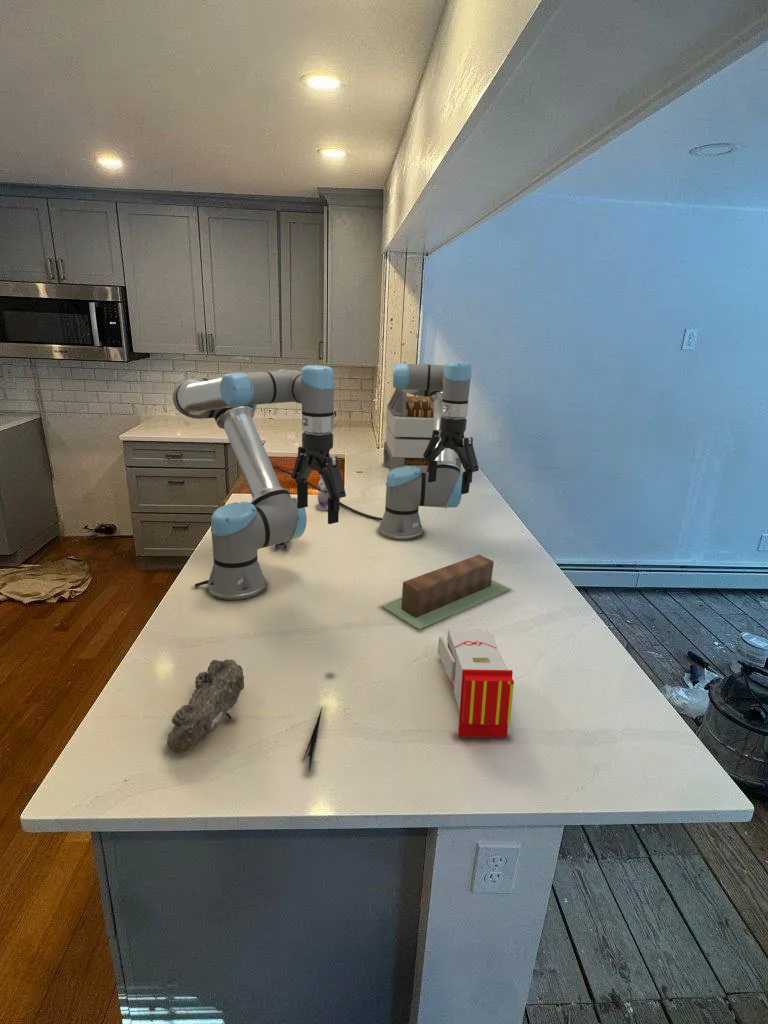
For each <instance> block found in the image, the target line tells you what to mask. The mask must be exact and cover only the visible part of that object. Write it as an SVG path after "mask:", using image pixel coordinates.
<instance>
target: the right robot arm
mask: <svg viewBox="0 0 768 1024" xmlns="http://www.w3.org/2000/svg"><path fill="white" fill-rule="evenodd" d="M392 370H393V372H392V387H393V388H394V389H395V390H396V389H401V390H403V391H404V392H406V393H407V394H410V395H412V396H415V397H417V396H418V397H430V403H431V404H432V405H434V409H433V433H432V438H431V440H430V442H429V444H428V446H427V448H426V450H425V452H424V454H423V456H424V458H427V460H428V466H427V468H426V472H422V469H421V468H420V467H419V466H407V465H405V466H404V467H399V468H395V469H393V470H391V471H390V470H389V471H388V473H387V475H386V482H385V486H386V488H385V489H386V490H385V504H384V505H385V507H384V508H385V509H384V513H383V515H382V517H378V516H375V515H374V516H373V515H370V514H366V513H365V512H362V511H359V510H356V509H354V508H352V507H350V506H348V505H346V504H344V503H343V502H340V507H343V508H344V509H347V510H349V511H351V512H353V513H355V514H357V515H360V516H362V517H365V518H369V519H372V520H377V521H381V522H379V526H378V533H379V534H380V535H381V536H382V537H385V538H387V539H389V540H395V541H410V540H415V539H418V538H420V537H421V536H422V535H423V525H422V524H421V518H420V515H419V507H427V508H429V507H431V508H444V509H448V508H449V509H450V508H452V509H453V508H454V509H455V508H457V507H459V506H460V504H461V501H462V498H463V497H462V496H463V495H464V494H468V493H469V494H470V486H471V483H472V482H473V474H474V473H475V472H479V470H480V468H479V467H480V466H479V464H478V460H477V455H476V453H475V448H474V439H473V437H472V436H470V437H465V432H466V430H467V423H468V422H467V421H468V420H467V417H468V412H469V411H468V410H469V396H470V388H471V378H472V365H471V363H470V362H466V361H457V360H456V361H455V360H454V361H453V360H451V361H447V362H446V363H445V364H426V363H420V364H419V363H417V364H416V363H406V362H402V363H395V364H394V365H393V369H392ZM459 447H460V448H459ZM456 453H457V455H458V457H459V459H460V461H461V466H462V468H463V469H464V471H462V473H461V474H460V468H459V467H458V466H457V465H456ZM272 467H273V470H275V469H277V470H278V471H280V472H282V473H285V474H287V475H289V476H292V472H290V471H288V470H286V469H283V468H282V467H279V466H276V465H274V466H272ZM304 483H308V486H310V487H311V488H313V489H315V490H316V491H318V492H319V491H320V489H319V488H318V486H316V485H314V484H313V483H311V482H310V481H308V480H306V482H304Z"/></svg>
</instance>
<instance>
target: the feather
mask: <svg viewBox="0 0 768 1024" xmlns="http://www.w3.org/2000/svg"><path fill="white" fill-rule="evenodd" d="M329 675H330V676H331V675H332V674H331V673H330V674H329ZM322 710H323V707H321V708H320V710H319V713H318V716H317V719H316V723H315V725H314V728H313V731H312V733H311V737H310V739H309V742H308V745H307V748H306V751H305V754H304V757H303V760H302V763H301V767H302V765H303V763H304V761H305V758H308V759H309V760H308V762H307V763H308V764H307V766H308V771H310V770H311V766H312V765H311V764H312V760H313V757H315V756H314V755H315V751H316V749H315V746H317V739H318V733H319V729H320V722H321V717H322V712H323V711H322ZM313 754H314V755H313ZM306 755H307V757H306Z"/></svg>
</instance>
